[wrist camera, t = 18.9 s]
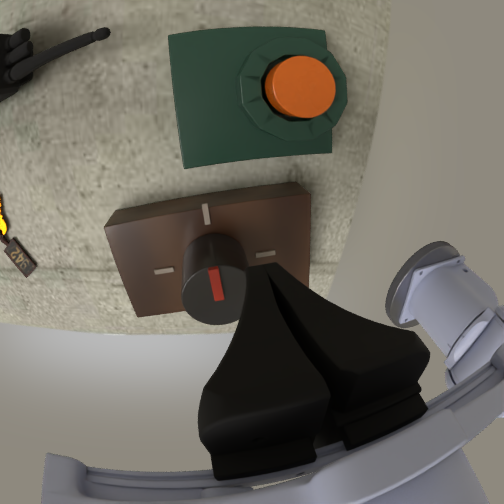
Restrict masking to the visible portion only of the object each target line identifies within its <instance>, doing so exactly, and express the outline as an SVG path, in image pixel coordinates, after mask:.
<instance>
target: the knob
mask: <svg viewBox="0 0 504 504" xmlns="http://www.w3.org/2000/svg"><path fill="white" fill-rule="evenodd" d="M247 267H249V264H248V261H247V258H246V255H245V252H244V249H243V248H242V246H241V245H240V244H239V243H238V242H237V241H236V240H235V239H233V238H231V237H229V236H227V235H223V234H208V235H204V236H201V237H199V238H197V239H196V240H194V241H193V242H192V243H191V244H190V245H189V246H188V247H187V249H186V251H185V253H184V256H183V264H182V284H181V301H182V304H183V307H184V308H185V310H186V311H187V313H188V314H189V315H190V316H191V317H193V318H194V319H196V320H197V321H200V322H202V323H205V324H210V325H224V324H229V323H232V322H235V321H237V320H239V319H240V316H241V312H242V308H243V303H244V299H245V291H246V277H245V269H246V268H247Z"/></svg>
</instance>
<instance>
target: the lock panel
mask: <svg viewBox="0 0 504 504" xmlns="http://www.w3.org/2000/svg"><path fill="white" fill-rule="evenodd" d="M104 230H105V233H106V236H107V239H108V242H109V245H110V248H111V251H112V254H113V257H114V260H115V262H116V265H117V268H118V271H119V273H120V276H121V279H122V281H123V284H124V286H125V289H126V291H127V294H128V296H129V299H130V301H131V303H132V306H133V308H134V311H135V313H136V315H137V317H145V316H152V315H160V314H167V313H174V312H181V311H186V310H185V308H184V307H183V304H182V301H181V284H182V264H183V256H184V253H185V251H186V249H187V247H188V246H189V245H190V244H191V243H192V242H193V241H194V240H196V239H197V238H199V237H201V236H204V235H208V234H223V235H227V236H229V237H231V238H233V239H235V240H236V241H237V242H238V243H239V244H240V245H241V246H242V248H243V249H244V252H245V255H246V258H247V261H248V264H249V267H250V266H255V265H261V264H267V263H273V262H277V263H278V264H279V265H281V266H282V267H283V268H284V269H285V270H287V271H288V272H289V273H290V274H291V275H293V276H294V277H295V278H296V279H297V280H299V281H300V282H301V283H303V284H304V285H305V286H307V287H308V288H309V269H310V231H311V194H310V193H309V192H308V191H307V190H306V189H305V188H303V187H302V186H301V185H300V184H298V183H297V182H290V183H281V184H272V185H264V186H256V187H248V188H241V189H234V190H227V191H220V192H214V193H208V194H201V195H195V196H189V197H184V198H178V199H172V200H167V201H162V202H156V203H151V204H146V205H141V206H136V207H132V208H127V209H122V210H118V211H115V212H114V213H113V215H112V216H111V217H110V219H109V220H108V222H107V223H106V225H105V226H104Z"/></svg>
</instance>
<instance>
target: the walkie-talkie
mask: <svg viewBox="0 0 504 504" xmlns="http://www.w3.org/2000/svg"><path fill="white" fill-rule="evenodd" d="M110 33H111V32H110V29H108V28H106V27H104V28H100V29H97V30H96V31H95V32H90V33H86V34H83V35H80V36H78V37H75V38H73V39H70V40H68V41H65V42H63V43H60V44H58V45H56V46H54V47H51V48H49V49H47V50H45V51H43V52H40V53H38V54H36V55H34V56H33V43H32V42H31V41H28V40H29V38H30V32H29V30H28V29H26V28H22V29H20V30H19V31H17V32H16V33H14V34H13V35H9V34H0V102H1V101H3V100H4V99H6V98H8V97H10V96H11V95H13V94H14V93H16V92H17V91H18V89H19V87H20V86H21V85H23V84H25V83H27V82H28V81H30V80H31V79H32V76H33V71H34V70H36V69H37V68H39V67H41V66H42V65H44V64H46V63H48V62H50V61H52V60H54V59H56V58H58V57H60V56H63V55H65V54H67V53H69V52H72V51H74V50H76V49H79V48H81V47H84V46H86V45H89V44H91V43H93V42H95V41H100V40H103V39H106V38H108V37H109V36H110Z"/></svg>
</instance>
